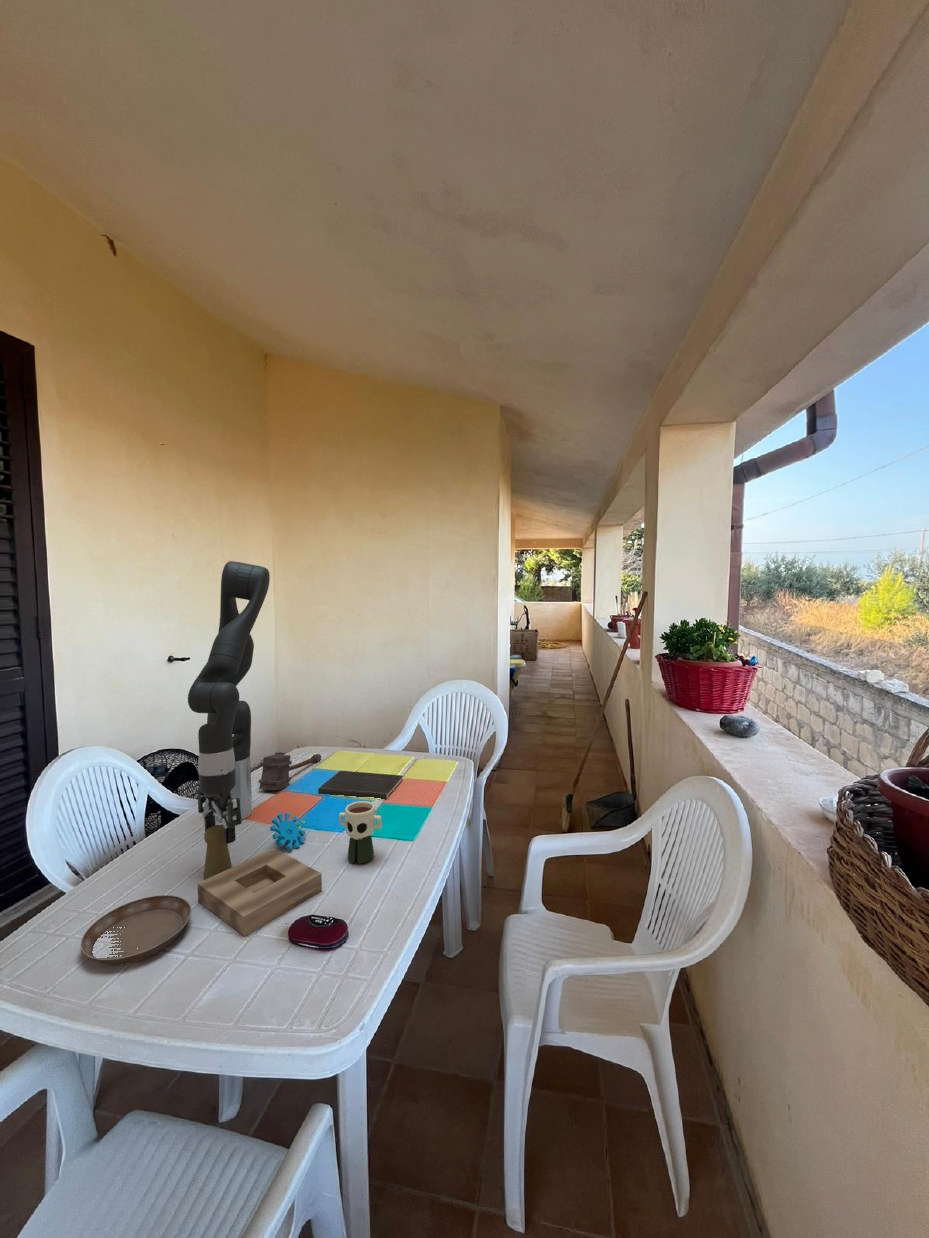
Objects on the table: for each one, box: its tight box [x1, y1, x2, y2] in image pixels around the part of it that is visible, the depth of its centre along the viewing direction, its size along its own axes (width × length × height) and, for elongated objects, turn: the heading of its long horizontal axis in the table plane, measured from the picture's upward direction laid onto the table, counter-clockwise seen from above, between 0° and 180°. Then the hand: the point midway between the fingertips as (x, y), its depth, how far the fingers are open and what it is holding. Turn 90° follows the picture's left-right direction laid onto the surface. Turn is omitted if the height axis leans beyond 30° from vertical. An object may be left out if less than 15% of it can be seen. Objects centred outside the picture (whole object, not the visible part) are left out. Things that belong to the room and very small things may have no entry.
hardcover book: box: [317, 770, 404, 801], centre depth 168 cm, size 16×23×2 cm
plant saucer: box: [80, 894, 192, 966], centre depth 97 cm, size 18×18×3 cm
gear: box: [269, 812, 307, 851], centre depth 132 cm, size 11×6×10 cm
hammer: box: [258, 753, 322, 791], centre depth 179 cm, size 7×33×10 cm, turn 166°
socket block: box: [196, 847, 323, 937], centre depth 110 cm, size 18×18×4 cm
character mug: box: [338, 800, 383, 864], centre depth 124 cm, size 11×7×13 cm, turn 79°
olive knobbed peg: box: [203, 824, 233, 880], centre depth 118 cm, size 6×6×11 cm
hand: (220, 837), depth 118 cm, fingers open, 8 cm apart
